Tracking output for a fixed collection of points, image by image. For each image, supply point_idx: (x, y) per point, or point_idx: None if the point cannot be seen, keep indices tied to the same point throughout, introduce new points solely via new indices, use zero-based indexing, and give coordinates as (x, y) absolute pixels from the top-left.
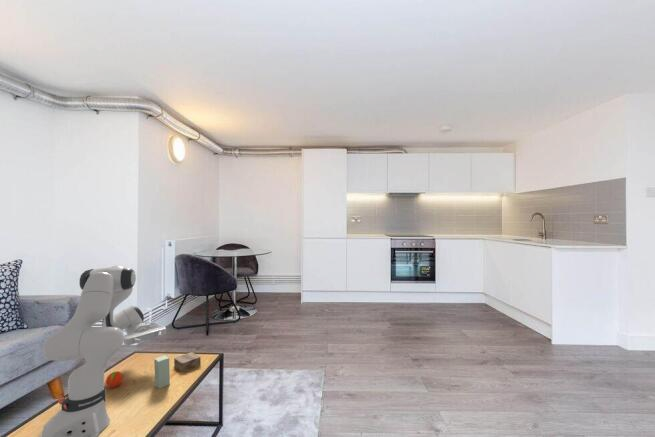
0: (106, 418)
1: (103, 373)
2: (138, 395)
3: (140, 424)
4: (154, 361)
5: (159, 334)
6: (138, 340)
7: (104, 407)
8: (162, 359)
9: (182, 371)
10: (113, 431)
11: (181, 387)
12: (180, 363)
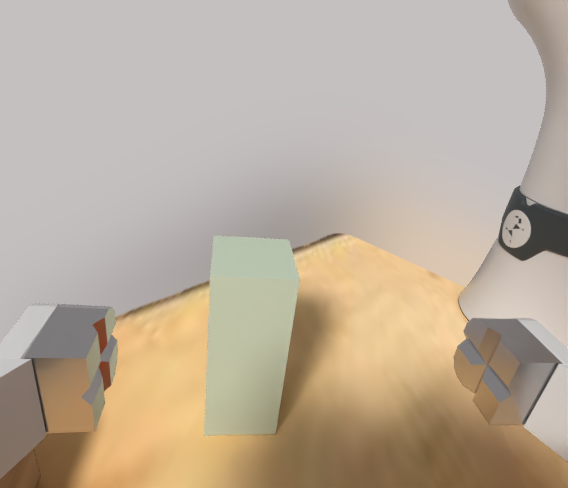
0: (471, 283)
1: (542, 124)
2: (372, 392)
3: (366, 257)
4: (296, 298)
5: (77, 309)
6: (549, 335)
7: (491, 253)
8: (256, 244)
9: (39, 473)
10: (434, 273)
11: (185, 321)
12: (10, 470)
